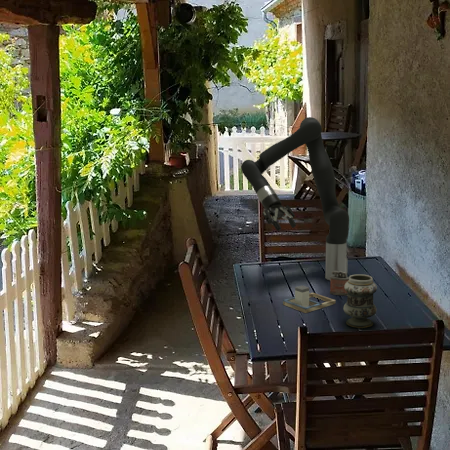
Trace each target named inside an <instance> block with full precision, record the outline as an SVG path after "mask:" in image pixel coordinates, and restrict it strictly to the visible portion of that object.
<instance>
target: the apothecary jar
mask: <svg viewBox="0 0 450 450" xmlns="http://www.w3.org/2000/svg"><path fill="white" fill-rule="evenodd" d="M348 277H349V280H348V282H346V283H345V286H344V288H345V290H346V291H347V295H346V297H347V300H346V302H345V304H344V305H343V307H342V308H343V312H344V313H345V314H346V315H347V316H349V317H351V318H348V319H346V325H348V326H350V327H352V328H357V329H366V328H370V327H372V326H373V325H374V322H373V320H371V319H370V318H371V317H373V316H374V315H375V314H376V313H377V310H378V309H377V307H376V304H374V293H376V292H377V290H378V286H377V284H376V283H375V282H374V280H373V277H372V276H371V275H368V274H363V273H362V274H352V275H351V274H350V275H349V276H348Z"/></svg>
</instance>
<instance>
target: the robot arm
mask: <svg viewBox="0 0 450 450" xmlns="http://www.w3.org/2000/svg"><path fill="white" fill-rule="evenodd" d="M322 131H323V129H322V124H321V123H320V121H319V120H318V119H317V118H314V117H313V116H311V117H310V116H308V117H305V118H304V119H302V121H301V122H300V124H299V128H298V129H296V130H295V132H293V133H292V134H290V135H289V136H287V137H286V138H284V139H282V140H281V141H280V140H279V141H278V142H276V143H273V144H272V145H271V146H269V147H268V148H267V149H265V150H264V151H262V152H261V153H260V154H259V155H258V157H259V158H258V159H257V160H256V161H254V160H252V159H246V160H244V161H242V163H241V165H240V167H241V168H240V169H241V173H242V174H243V176H244V177H245V179H247V181H248V182H249V184H250V185H251V187H252V188H253V190H254V192H255V194H256V195H257V197H258V199H259V201H260V203H261V205H262V206H263V208H264V211H263V212H262V215H263V217H264V219H265V220H266V223H267V224H268V225H270V224H271V225H272V226H273V227H274V229H275V230H276V231H277V232H279V231H281V230H282V226H281V225H280V223H279V221H277V220H278V219H283V220H286V221H287V222H288V223H289V225H290V227H291V228H292V229H295V228H296V227H297V223H296V221H295V220H294V217H295V216H296V214H295V213H294V212H293V210H292V209H291V207H290V205H288V204H287V205H286V206H284V205H282V201H281V199H280V198H279V196H278V195H277V193H276V191H275V190H274V187H272V185H271V184H270V183H269V181H268V179H266V177H265V176H264V175H263V174H264V173H265V172H266V171H267V170H268V169H269V168H270V167H271V166H273V165H274V164H276V163H277V162H279V161H280V160H281V159H283V158H284V157H285V156H287V155H288V154H290V153H291V152H293V151H295V150H297V149H298V148H300V147H301V146H304V145H305V146H306V149H307V152H308V153H307V154H308V159H309V164H310V169H311V173H312V178H313V180H314V181H313V182H314V183H315V187H316V189H317V192H318V196H319V198H320V203H321V207H322V213H323V214H322V215H323V218H324V219H323V220H324V222H325V223H326V224H327V225H328V226H329V227H328V228H329V229H328V234H327V235H326V237H325V274H324V275H325V276H324V277H325V279H326V280H327V281H331V279H330V276H335V275H334V274H332V271H338V272H340V271H342V272H346V277H348V262H349V261H348V260H349V259H348V257H347V242H348V241H347V239H348V237H349V229H350V215H349V213H348V212H347V210H345V209H343V208H341V206H340V204H339V201H338V199H337V195H336V184H337V183H336V182H337V180H336V176H335V175H336V174H335V171H334V168H333V165H332V162H331V160H330V156H329V155H328V152H327V151H326V148H325V144H324V142H323V141H324V140H323V137H322ZM337 276H338V275H337ZM343 276H344V275H343Z"/></svg>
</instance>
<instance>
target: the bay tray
mask: <svg viewBox="0 0 450 450" xmlns="http://www.w3.org/2000/svg"><path fill="white" fill-rule="evenodd" d="M314 297H315V298H316V299H317V298H318V299H317V300H320V299H321V301H324V302H322V303H321V302H318V301H316V300H312V299H310V298H314ZM282 305H283V306H286V307H288V308H290V309H294V310H296V311H298V312H302V313H304V314H308V313H310V312H313V311H317V310H320V309H324V308H326V307H329V306H333V305H336V299H333V298H330V297H327V296H325V295H321V294H319V293H315V292H309V307H303V306H301V305H298V304H295V296H293V297H290V298H289V297H288V298H286V299H283V300H282Z"/></svg>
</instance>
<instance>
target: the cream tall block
mask: <svg viewBox="0 0 450 450" xmlns="http://www.w3.org/2000/svg"><path fill="white" fill-rule="evenodd" d="M309 293H310V287H308V286H305V285H300V286H299V285H298V286H295V287H294V297H295V302H294V303H295V304H298V305H301V306H303V307H309V306H310V305H309V299H310V298H309Z"/></svg>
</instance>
